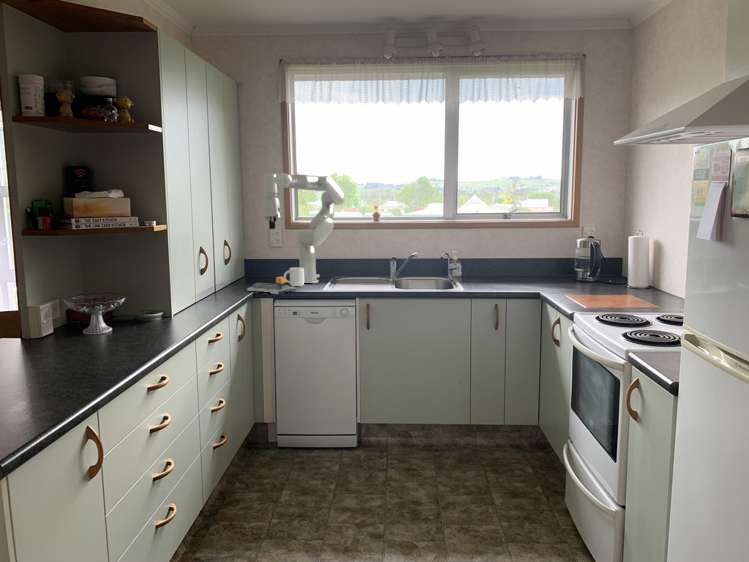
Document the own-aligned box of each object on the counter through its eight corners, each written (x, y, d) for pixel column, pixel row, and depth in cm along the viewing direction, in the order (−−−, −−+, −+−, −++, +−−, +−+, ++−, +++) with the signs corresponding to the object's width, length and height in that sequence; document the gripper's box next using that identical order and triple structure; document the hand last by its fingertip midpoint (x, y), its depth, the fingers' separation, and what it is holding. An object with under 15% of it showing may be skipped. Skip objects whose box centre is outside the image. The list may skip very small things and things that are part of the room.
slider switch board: (263, 287, 341) (263, 281, 341) (294, 290, 331) (293, 284, 331) (247, 291, 329) (247, 285, 328) (278, 294, 319) (278, 287, 318)
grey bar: (294, 290, 331) (294, 288, 330) (296, 290, 330) (296, 288, 330) (279, 294, 319) (279, 291, 319) (281, 294, 318) (281, 291, 318)
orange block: (280, 287, 329) (280, 276, 328) (286, 287, 327) (285, 277, 326) (276, 288, 325) (275, 277, 325) (281, 288, 324) (281, 278, 323)
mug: (282, 287, 344) (281, 269, 342) (285, 284, 352) (285, 267, 350) (302, 287, 342) (302, 269, 341) (306, 284, 350) (305, 267, 349)
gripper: (256, 196, 336) (257, 229, 339) (277, 196, 329) (278, 229, 332) (264, 196, 343) (266, 228, 346) (286, 195, 336) (287, 228, 339)
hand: (272, 228), depth 339 cm, fingers closed
